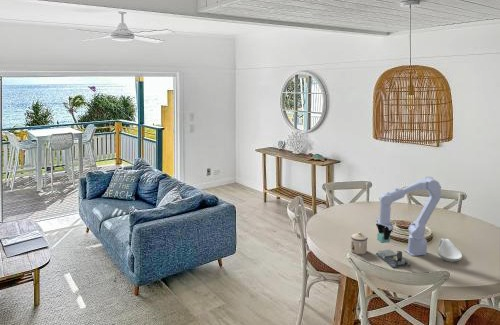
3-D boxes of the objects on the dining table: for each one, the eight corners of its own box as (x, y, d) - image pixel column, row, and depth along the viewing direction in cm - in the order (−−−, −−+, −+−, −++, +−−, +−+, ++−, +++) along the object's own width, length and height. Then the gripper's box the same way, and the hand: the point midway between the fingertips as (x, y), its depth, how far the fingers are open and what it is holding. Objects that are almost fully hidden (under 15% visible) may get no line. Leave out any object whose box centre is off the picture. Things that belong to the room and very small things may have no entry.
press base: (391, 252, 224) (392, 248, 224) (410, 265, 208) (410, 261, 207) (375, 254, 222) (376, 250, 222) (392, 268, 206) (393, 264, 205)
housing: (385, 239, 227) (385, 231, 226) (389, 242, 223) (390, 234, 222) (377, 239, 227) (377, 231, 226) (381, 243, 222) (382, 235, 221)
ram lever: (398, 259, 213) (398, 248, 212) (404, 264, 207) (405, 253, 206) (391, 260, 212) (392, 249, 211) (397, 265, 206) (398, 254, 205)
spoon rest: (464, 265, 207) (465, 252, 206) (440, 263, 210) (441, 251, 209) (452, 247, 230) (453, 235, 228) (431, 245, 233) (432, 234, 231)
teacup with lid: (350, 247, 232) (350, 229, 230) (366, 248, 230) (367, 229, 228) (351, 256, 220) (352, 236, 218) (368, 257, 219) (369, 237, 216)
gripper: (372, 211, 228) (371, 233, 230) (385, 219, 214) (383, 243, 216) (383, 210, 229) (382, 232, 232) (396, 218, 215) (395, 242, 218)
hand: (383, 237), depth 224 cm, fingers closed on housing, 5 cm apart
